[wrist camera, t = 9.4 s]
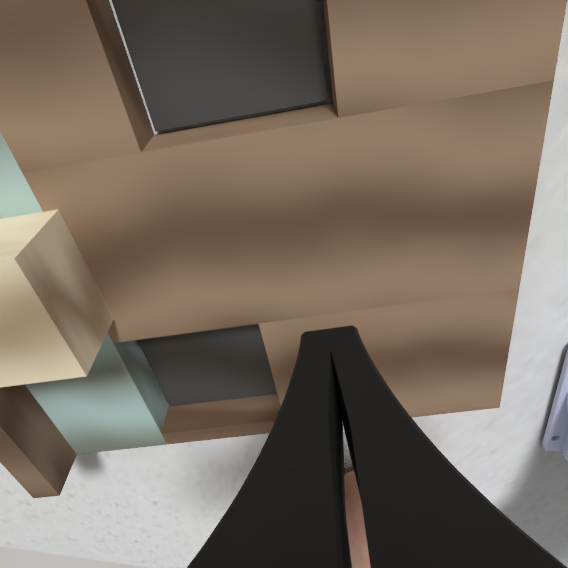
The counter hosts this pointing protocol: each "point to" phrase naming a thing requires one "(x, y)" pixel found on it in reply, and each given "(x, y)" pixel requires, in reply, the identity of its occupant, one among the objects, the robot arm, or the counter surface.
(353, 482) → the apple
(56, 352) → the beech block
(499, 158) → the board
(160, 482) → the counter surface
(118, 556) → the counter surface
